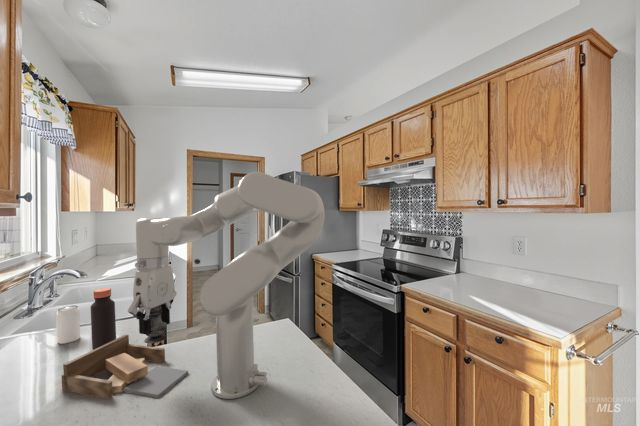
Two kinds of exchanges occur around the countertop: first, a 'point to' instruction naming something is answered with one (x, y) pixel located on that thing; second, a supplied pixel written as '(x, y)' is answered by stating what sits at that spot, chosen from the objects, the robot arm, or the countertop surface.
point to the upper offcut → (126, 367)
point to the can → (68, 324)
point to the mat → (156, 381)
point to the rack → (103, 366)
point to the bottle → (102, 318)
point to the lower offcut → (120, 381)
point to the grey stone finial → (156, 326)
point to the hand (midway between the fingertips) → (155, 327)
